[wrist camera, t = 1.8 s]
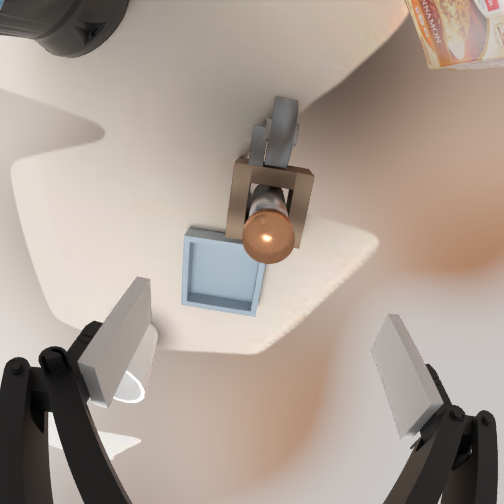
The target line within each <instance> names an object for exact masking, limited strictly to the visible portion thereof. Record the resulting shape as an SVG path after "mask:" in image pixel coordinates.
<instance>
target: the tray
mask: <svg viewBox="0 0 504 504" xmlns="http://www.w3.org/2000/svg"><path fill="white" fill-rule="evenodd" d="M225 234H226V233H222V232H216V231H209V230H202V229H196V228H189V229H188V231H187V232H186V234H185V235H184V250H183V271H182V301H181V305H187V306H192V307H198V308H204V309H210V310H216V311H222V312H228V313H234V314H241V315H247V316H254V317H255V316H256V311H257V305H258V300H259V295H260V290H261V285H262V279H263V274H264V269H265V264H264V263H260V262H257V261H255V260H254V259H252V258H251V257H250V256H249V255H248V254H247V253H246V251H245V249H244V247H243V242H242V240H241V239H235V238H228V237H225Z"/></svg>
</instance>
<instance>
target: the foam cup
mask: <svg viewBox="0 0 504 504" xmlns="http://www.w3.org/2000/svg"><path fill="white" fill-rule="evenodd" d="M158 336H159V334H158V331H157V328H156V327H155V326H154V325H153V324H152V323H151V322H150V324H149V326H148V328H147V330H146V332H145V334H144V336H143V338H142V340H141V342H140V344H139V346H138V348H137V350H136V352H135V354H134V356H133V358H132V360H131V362H130V364H129V366H128V368H127V370H126V372H125V374H124V376H123V378H122V380H121V382H120V384H119V386H118V389H117V391H116V393H115V395H114V397H113V398H114V399H116V400H119V401H123V402H126V403H137V402H139V401H141V400H142V399H144V397H145V394H146V392H147V389H148V385H149V375H150V371H151V366H152V362H153V357H154V354H155V350H156V345H157V341H158Z"/></svg>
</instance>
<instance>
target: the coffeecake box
mask: <svg viewBox="0 0 504 504" xmlns="http://www.w3.org/2000/svg"><path fill="white" fill-rule="evenodd" d="M405 1H406V4H407V6H408V8H409V11H410V14H411V16H412V19H413V21H414V24H415V27H416V30H417V33H418V36H419V38H420V42H421V44H422V48H423V51H424V54H425V58H426V61H427V65H428V69H429V70H434V69H435V70H436V69H437V70H457V71H466V70H473V69H482V68H492V67H504V0H405Z"/></svg>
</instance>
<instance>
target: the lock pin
mask: <svg viewBox="0 0 504 504" xmlns="http://www.w3.org/2000/svg"><path fill="white" fill-rule="evenodd" d="M242 242H243V247H244V249H245V251H246V253H247V254H248V255H249V256H250V257H251V258H252V259H254V260H255V261H257V262H260V263H264V264H273V263H277V262H280V261H282V260H284V259H285V258H286V257H287V256H288V255H289V254H290V253H291V251H292V250H293V247H294V244H295V235H294V231H293V226H292V223H291V221H290V219H289V218H288V213H287V208H286V203H285V199H284V195H283V191H282V189H281V188H280V187H274V186H268V185H262V184H259V185H258V186H257V187H256V188H255V190H254V193H253V197H252V203H251V208H250V213H249V218H248V219H247V221H246V224H245V227H244V232H243V237H242Z"/></svg>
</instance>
